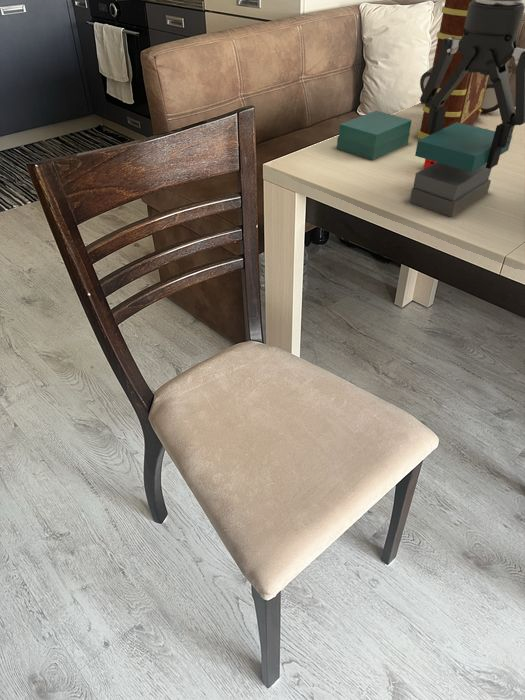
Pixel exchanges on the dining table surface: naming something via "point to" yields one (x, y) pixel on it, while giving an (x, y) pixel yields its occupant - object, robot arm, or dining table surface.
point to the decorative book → (472, 86)
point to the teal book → (458, 146)
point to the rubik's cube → (428, 163)
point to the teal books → (373, 134)
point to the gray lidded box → (449, 188)
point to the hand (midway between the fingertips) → (461, 157)
